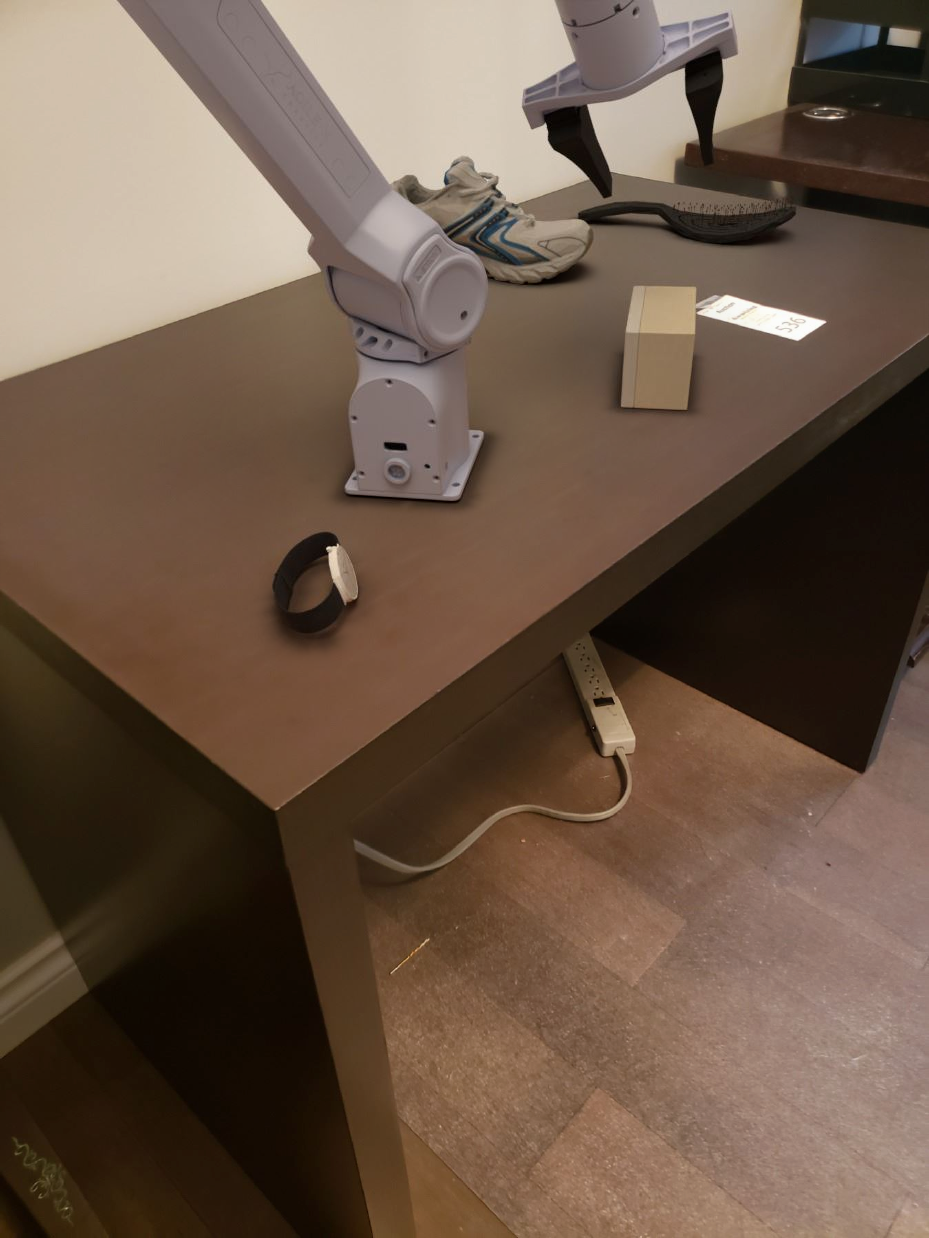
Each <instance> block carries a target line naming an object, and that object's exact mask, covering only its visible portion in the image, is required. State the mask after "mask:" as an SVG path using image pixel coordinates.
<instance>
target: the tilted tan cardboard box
mask: <svg viewBox="0 0 929 1238" xmlns="http://www.w3.org/2000/svg"><path fill="white" fill-rule="evenodd" d="M696 318H697V287H696V286H666V285H633V287H632V292H631V298H630V304H629V308H628V315H627V320H626V321H627V322H626V327H625V332H624V346H623V347H624V348H623V362H622V363H623V364H622V378H621V394H620V407H621V408H629V409H631V408H633V409H652V410H671V411H672V410H675V411H687V410H688V404H689V396H690V395H689V394H690V387H691V377H692V367H693V359H694V350H695V341H696V325H697V324H696V323H697V322H696V321H697V320H696Z"/></svg>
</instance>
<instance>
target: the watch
mask: <svg viewBox="0 0 929 1238" xmlns="http://www.w3.org/2000/svg"><path fill="white" fill-rule="evenodd" d="M327 556H328V566H329V571H330V575H331V579H332V587H331V589H330V591H329V593H328V595H327V596H326V597H325V598H324V599H323V601H321V602H320V603H319V604H318V605H316V606H314V607H312V608H310V609H307V610H304V611H298V612H294V611H290V610H288V608H289V607H288V606H289V600H290V597H291V595H292V593H293V590H294V588H293V585H294V584H295V581H296V579H297V578H298V577H299V575H300V574H301V573H302V571H303V570H305V569H306V568H307V567H308V566H309V565H311V564H312V563H313V562H315V561H317V560H318V559H320V558H323V557H327ZM273 575H274V578H273V581H272V584H271V587H272V590H273V598H274V602H275V603H276V606H277V608H278V609H279V612H280V613H281V614H282V617H283V619H284V620H285V622H286V623H287V625H288V627H289V628H290V629H291V630H293V631H295V632H297V633H299V634H305V635H308V634H315V633H318V632H322V631H323V630H325V629H327V628H329V627H331V625H333V624H334V623H335V621H337V620H338V619H339V617H340V615H341V614H342V612H343V610H344V607H345V606H347V603H350V602H353V601H354V600H356V599H357V598H358V592H359V590H358V589H359V587H358V582H357V576H356V573H355V569H354V566H353V564H352V561H351V559H350V557H349V555H348V552H347V551H346V550H345V548H344V547H343V546H342V545H341V543H340V541H339V538H338V536H337V535H336V534H335V533H333V532H330V531H321V532H316V533H314V534H310V535H309V536H307V537H306V538H304V539H302V540H301V541H299V542H297V544H295V545H294V546H293V547H292V548H291V549H289V551H288V552H287V554H286V555H285V556H284V558H283V560H282V561H281V563H280V565H279V566H278V568H277V570H276V572H275V573H274V574H273Z"/></svg>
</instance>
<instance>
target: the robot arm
mask: <svg viewBox="0 0 929 1238" xmlns="http://www.w3.org/2000/svg"><path fill="white" fill-rule="evenodd" d="M116 1H117V3H119V5H120V6H121V8H123V10H124V11H125V12H126V13H127V14H128V15H129V17H130V19H132V20H133V21H134V23H135V24H136V25H137V26H138V28H140V30H141V31H142V32H143V34H144V35H145V36H146V38H147V39H148V40H149V41H150V42H151V43H152V44H153V45H154V47H155V48H156V49H157V51H159V53H160V54H161V56H163V58H164V60H166V61H167V62H168V64H169V65H170V66H171V68H173V70H174V71H175V72H176V74H177V75H178V76H179V77H180V78H181V80H183V82H184V83H185V85H186V86H187V87H188V88H189V89H190V90H191V91H192V93H193V94H194V95H195V96H196V98H197V99H198V100H199V101H200V102H201V103H202V105H203V106H204V107H205V109H206V110H208V112H209V113H210V114H211V115H212V116H213V118H214V119H215V120H216V121H217V123H218V124H219V125H220V126H221V127H222V129H223V130H224V131H225V132H226V133H227V135H228V136H229V137H230V138H231V140H232V141H233V142H234V143H235V144H236V146H237V147H238V148H239V149H240V150H241V152H242V153H243V154H244V155H245V156H246V157H247V159H248V160H249V161H250V162H251V164H252V165H253V166H254V167H255V168H256V170H257V171H258V172H259V173H260V174H261V176H262V177H263V178H264V179H265V180H266V182H267V183H268V184H269V186H270V187H271V188H272V189H273V190H274V191H275V192H276V194H277V195H278V196H279V197H280V198H281V200H282V201H283V202H284V203H285V205H286V206H287V207H288V208H289V209H290V210H291V212H292V213H293V214H294V215H295V216H296V218H297V219H298V220H299V221H300V222H301V224H302V225H303V226H304V227H305V228H306V230H308V232H309V234H310V237H309V242H308V245H307V248H306V250H307V251H306V252H307V254H308V255H309V257H311V259H312V260H314V262H315V263H316V265H317V267H318V268H319V269H320V272H321V274H322V277H323V280H324V285H325V289H326V292H327V295H328V298H329V300H330V301H331V303H332V304H333V306H334V307H335V308H336V309H337V310H338V312H340V313H341V314H343V316H346V317H347V321H348V329H349V334H350V335H351V336H353V340H354V348H355V356H356V357H355V358H356V364H357V374H358V378H357V384H356V386H355V388H354V390H353V392H352V395H351V397H350V400H349V403H348V410H347V411H348V422H349V423H348V424H349V432H350V438H351V445H352V446H351V447H352V452H353V453H352V454H353V461H354V470H353V471H352V473H351V475H350V476H349V479H348V480H347V481H346V483H345V484H344V492H345V493H346V494H348V495H355V496H356V495H357V496H372V497H387V498H389V497H390V498H400V499H401V498H402V499H403V498H404V499H415V500H416V499H419V500H433V501H447V502H448V501H450V502H455V501H458V500H460V499H461V497H462V495H463V492H464V490H465V487H466V484H467V481H468V480H469V477H470V475H471V472H472V470H473V466H474V464H475V462H476V459H477V456H478V454H479V452H480V449H481V446H482V444H483V442H484V438H485V433H484V431H483V430H478V429H470V424H469V423H470V421H469V401H468V381H467V360H466V346H470V344H472V337H473V335H474V334H475V333H476V332H477V329H478V328H479V326H480V324H481V322H482V320H483V318H484V315H485V313H486V308H487V305H488V297H489V282H488V276H487V275H486V271H485V268H484V266H483V263H482V262H481V260H480V259H479V257H478V256H477V255H476V254H475V253H474V252H473V251H471V250H470V249H468V248H466V247H464V246H461V245H458V244H456V243H454V242H453V241H451V240H450V239H449V238H448V237H447V235H446V234H445V233H444V231H443V230H442V228H441V227H440V225H439V224H438V223H437V222H436V221H435V220H433V219H432V218H431V217H429V216H428V215H427V214H425V213H424V212H423V211H421V210H420V209H419V208H417V207H416V206H415V205H413V204H412V203H410V202H409V201H408V200H406V199H405V198H404V197H402V196H401V195H400V194H398V193H397V192H396V191H395V190H393V189H392V187H391V186H390V184H391V183H389V181H388V180H387V178H386V177H385V176H384V174H383V173H382V171H381V170H380V168H379V167H378V165H377V164H376V163H375V161H374V160H373V159H372V157H371V156H370V154H369V153H368V151H367V150H366V149H365V147H364V145H363V144H362V143H361V141H360V140H359V139H358V137H357V135H356V134H355V132H354V131H353V130H352V128H351V127H350V126H349V124H348V122H347V121H346V120H345V118H344V117H343V116H342V113H341V112H340V111H339V110H338V108H337V107H336V105H335V103H334V102H333V101H332V100H331V98H330V96H329V95H328V94H327V93H326V91H325V89H324V88H323V87H322V85H321V84H320V82H319V81H318V80H317V78H316V77H315V75H314V73H312V71H311V70H310V68H309V67H308V65H307V64H306V62H305V61H304V60H303V58H302V57H301V55H300V54H299V52H298V50H297V49H296V48H295V46H294V44H293V43H292V42H291V41H290V39H289V38H288V37H287V34H285V32H284V31H283V29H282V28H281V27H280V25H279V23H278V22H277V21H276V19H275V18H274V16H273V15H272V14H271V12H270V11H269V9H268V8H267V6H266V5H265V4H264V2H263V1H262V0H116ZM554 3H555V6H556V8H557V11H558V15H559V17H560V21H561V23H562V26H563V29H564V32H565V34H566V38H567V40H568V43H569V46H570V50H571V52H572V54H573V57H574V61H573V62H571V63H570V64H567V65H566V66H564V67H563V68H561V69H559V70H558V71H556V72H555V73H553V74H551V75H549V76H548V77H547V78H544V79H543V80H541V81H538V82H537V83H535V84H533V85H530V86H528V87H525V88H524V89H523V90H522V100H521V109H522V110H523V113H524V115H525V118H526V120H527V123H528V125H529V128H530V129H531V130H535V129H538V128H541V127H543V126H544V125H546V131H547V141H548V144H549V146H550V147H551V149H552V150H553V151H554V152H556V153H558V154H560V155H561V156H563V157H565V158H566V159H568V160H569V161H570V162H571V163H573V164H574V165H575V166H576V167H577V168H578V169H579V170H580V171H581V172H582V173H584V175H585V176H586V177H587V178H588V180H589V181H590V182H591V183H592V184H593V185H594V187H595V188H596V189H597V191H598V192H599V194H600V196H601V197H602V198H603V199H604V200H605V199H608V198H611V197H613V177H612V173H611V170H610V167H609V164H608V161H607V158H606V156H605V154H604V151H603V149H602V146H601V144H600V142H599V140H598V137H597V133H596V131H595V127H594V124H593V120H592V117H591V112H590V110H589V106H588V105H593V104H602V103H610V102H616V101H619V100H622V99H625V98H628V97H630V96H633V95H635V94H637V93H639V92H640V91H642V90H643V89H645V88H647V87H648V86H650V85H652V84H653V83H655V82H657V81H659V80H660V79H662V78H664V77H665V76H667V75H670V74H672V73H675V72H678V71H680V70H683V69H684V94H685V98H686V101H687V103H688V106H689V109H690V112H691V115H692V118H693V122H694V125H695V128H696V132H697V137H698V143H699V149H700V154H701V155H700V156H701V160H702V163H703V166H704V167H707V166H708V167H709V166H710V165H713V164H714V163H715V152H714V151H715V150H714V149H715V148H714V142H713V136H714V126H715V119H716V114H717V113H716V112H717V109H718V105H719V101H720V98H721V95H722V91H723V86H724V78H725V77H724V66H723V65H724V64H723V60H727V59H729V58H733V57H735V56H738V54H739V46H738V45H739V44H738V36H737V30H736V25H735V21H734V15H733V10H732V9H728V10H726V11H725V10H724V11H723V12H720V13H717V14H713V15H710V16H705V17H701V18H695V19H687V20H682V21H676V22H671V23H665V24H660V22H659V18H658V14H657V10H656V7H655V2H654V0H554Z"/></svg>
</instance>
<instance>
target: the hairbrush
mask: <svg viewBox="0 0 929 1238" xmlns="http://www.w3.org/2000/svg"><path fill="white" fill-rule="evenodd" d="M790 199H791V200H790ZM782 200H783V201H782V202H781V200H779V198H777V199H776V200H775V201H774V204H775V205H778V204H780V203H781V204H780V205H779V208H778V207H777V206H774V209H772V204H773V201H770V204H767V201H764V204H762V205H761V206H759V205H760V203H759V202H758V203H757V204H756V205H754V203H753V202H751V204H750V205H749V206H748V207H746V211H745V213H744V210H745V206H746V203H744V205H742V204H741V203H740V204H739V203H737V206H735V207H734V208H730V207H732V206H733V205H732V204H730V206H729V204H727V205H726V207H727V208H726V209H725V210H724V209H723V207H725V204H723V206H720V208H718V207H719V205H718V204H714V209H712V210H709V208H711V207H712V204H709V206H707V207H706V208H707V209H706V210H705V213H704V211H703V210H702V209H704V207H705V203H702V204H701V206H700V211H699V212H695V211H696V210H695V209H696V205H698V202H696V205H694V206H692V205H691V204H692V202H689V206H688V207H687V209H688V210H687V211H686V209H685V208H686V207H683V210H680V207H677V208H676V204H674V205H673V206H670V205H669V204H665V203H663V202H651V201H639V200H631V201H630V200H629V201H614V202H608V203H605V204H600V205H597V206H596V205H595V206H593V207H589V208H587V209H583V210H580V211H579V212H577V219H579V220H583V221H591V220H596V219H601V218H605V217H606V218H607V217H613V216H622V215H631V214H635V215H649V216H651V215H652V216H658V217H660V218H661V219H662V220H663V221H665V222H666V223H667V224H668V225H669V226H670V227H672V228H673V229H674V230H675V231H677V232H678V233H680V234H681V235H682V236H684V237H687V238H689V239H692V240H695V241H698V242H702V243H717V244H725V243H730V242H732V243H733V242H738V241H747V240H748V239H751V238H754V237H757V236H760V235H762V234H763V235H764V234H765V233H768V232H771V231H773V230H776V229H777V228H779V227H780V226H782V225H784V224H785V223H787V222H789V221H791V220H792V219H793V218H794V217H795V216H796V215H797V206H796V205H793V202H794V196H793V195H791V196H790V198H789V197H786V199H785V197H782ZM784 200H785V203H784ZM788 201H789V206H787V205H788ZM680 204H681V202H677V206H680ZM682 205H685V201H683V204H682ZM764 205H768V207H767V206H764ZM758 206H759V208H758ZM737 207H739V211H738V213H736V214H735V213H734V210H735V209H737ZM693 208H694V209H693ZM749 209H752V210H751V211H750V212H749ZM771 209H772V210H771ZM692 210H693V211H692ZM722 210H723V212H724V214H723V213H720V211H722ZM728 210H730V214H729V213H728ZM759 210H765V211H759ZM708 211H709V213H708ZM758 211H759V212H758ZM710 212H711V213H710Z"/></svg>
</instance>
